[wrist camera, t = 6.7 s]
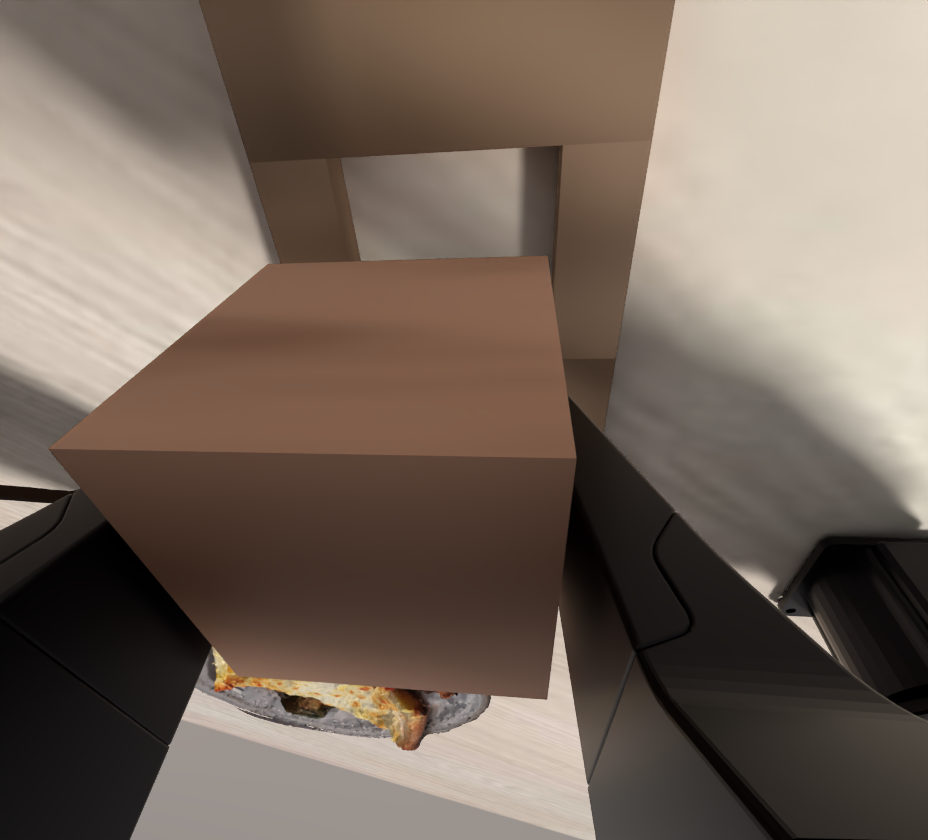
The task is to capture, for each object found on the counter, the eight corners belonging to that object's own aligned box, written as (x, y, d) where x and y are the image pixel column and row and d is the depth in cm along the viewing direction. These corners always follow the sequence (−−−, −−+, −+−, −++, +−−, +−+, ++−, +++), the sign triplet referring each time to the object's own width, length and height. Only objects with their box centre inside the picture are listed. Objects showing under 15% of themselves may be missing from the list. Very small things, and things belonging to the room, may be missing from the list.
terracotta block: (536, 468, 11) (547, 700, 7) (333, 463, 11) (238, 676, 8) (547, 255, 8) (576, 459, 4) (267, 263, 8) (49, 448, 4)
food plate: (550, 639, 31) (552, 697, 28) (423, 732, 45) (416, 776, 42) (172, 504, 26) (130, 556, 24) (163, 654, 40) (136, 697, 38)
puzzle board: (581, 528, 23) (594, 623, 20) (372, 521, 25) (345, 609, 21) (786, -810, 6) (1258, -2325, 2) (46, -615, 7) (-490, -1374, 3)
